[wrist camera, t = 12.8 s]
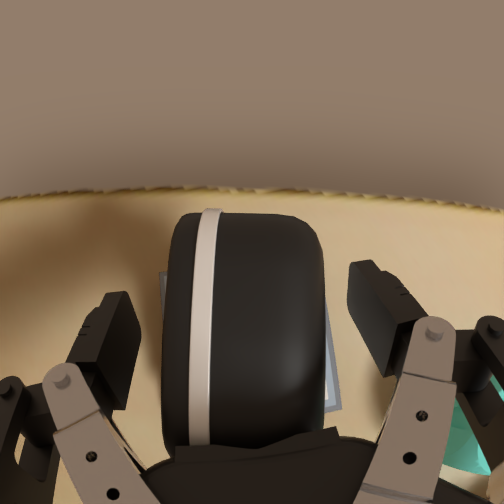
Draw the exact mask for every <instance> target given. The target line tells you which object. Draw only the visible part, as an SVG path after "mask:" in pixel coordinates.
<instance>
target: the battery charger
mask: <svg viewBox="0 0 504 504" xmlns="http://www.w3.org/2000/svg"><path fill="white" fill-rule="evenodd" d="M325 381H326V309H325V278H324V260H323V251H322V248H321V245H320V242H319V240H318V237H317V235H316V232H315V231H314V230H313V229H312V228H311V227H310V226H309V225H308V224H307V223H306V222H304V221H302V220H300V219H298V218H296V217H294V216H286V215H279V214H253V213H224V211H223V209H210V208H207V209H205V210H204V211H203V213H189V214H185V215H184V216H182V217H181V218H180V220H179V222H178V223H177V225H176V227H175V229H174V233H173V236H172V240H171V246H170V253H169V260H168V270H167V281H166V293H165V305H164V319H163V336H162V366H161V419H162V434H163V440H164V445H165V448H166V450H167V452H168V454H169V456H170V458H172V457H175V446H196V445H221V446H229V447H237V448H246V449H260V448H263V447H266V446H268V445H271V444H274V443H276V442H279V441H282V440H284V439H287V438H289V437H292V436H294V435H297V434H301V433H306V432H312V431H317V430H321V429H323V426H324V411H325Z"/></svg>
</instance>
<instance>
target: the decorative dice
mask: <svg viewBox="0 0 504 504" xmlns="http://www.w3.org/2000/svg"><path fill="white" fill-rule="evenodd" d="M490 380H491V382H492V383H493V385H494V387H495V388H496V390H497V391H498V393H499V395H500V396H501V398H502V400H503V401H504V391H503V389H502V388H501V386H500V384H499V383H498V381H497V380H496V378H495V377H494V375H492V377H491V379H490ZM442 464H444V465H447V466H450V467H453V468H456V469H460V470H463V471H467V472H472V473H476V474H482V475H490V474H491V471H490V468H489V466H488V464H487V461H486V459H485V457H484V455H483V452H482V450H481V448H480V446H479V444H478V442H477V440H476V438H475V435H474V433H473V431H472V429H471V427H470V425H469V423H468V421H467V419H466V417H465V415H464V413H463V411H462V409H461V407H460V406H459V404H458V402H457V400H456V398H455V402H454V409H453V415H452V421H451V426H450V431H449V436H448V441H447V445H446V450H445V454H444V458H443V462H442Z"/></svg>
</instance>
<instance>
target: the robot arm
mask: <svg viewBox="0 0 504 504" xmlns="http://www.w3.org/2000/svg"><path fill="white" fill-rule="evenodd" d="M347 306H348V310H349V313H350V315H351V317H352V319H353V321H354V323H355V325H356V327H357V328H358V330H359V332H360V334H361V336H362V338H363V340H364V342H365V343H366V345H367V347H368V349H369V351H370V353H371V355H372V357H373V359H374V361H375V363H376V365H377V367H378V369H379V371H380V373H381V374H382V376H383V378H384V377H388V376H392V375H395V376H396V378H397V382H396V384H395V388H394V391H393V394H392V397H391V400H390V403H389V406H388V409H387V411H386V414H385V417H384V420H383V422H382V425H381V428H380V430H379V433H378V435H377V437H376V440H375V442H372V441H368V440H365V439H361V438H356V437H347V436H339V434H338V431H337V428H336V426H335V427H330V428H326V429H321V430H317V431H312V432H306V433H301V434H297V435H294V436H292V437H289V438H287V439H284V440H282V441H279V442H276V443H274V444H271V445H268V446H266V447H263V448H260V449H246V448H237V447H229V446H221V445H196V446H175V457H172V458H169V459H166V460H163V461H161V462H159V463H157V464H154V465H153V466H151V467H150V468H148V469H147V468H146V467H145V465H144V464H143V463H142V462H141V460H140V459H139V458H138V456H137V455H136V454H135V452H134V451H133V449H132V448H131V446H130V445H129V443H128V442H127V440H126V439H125V437H124V436H123V434H122V433H121V431H120V429H119V428H118V426H117V425H116V423H115V421H114V420H113V419H112V413H113V410H125V409H126V404H127V399H128V394H129V389H130V385H131V380H132V376H133V372H134V367H135V363H136V359H137V355H138V351H139V346H140V342H141V328H140V324H139V321H138V319H137V316H136V313H135V311H134V308H133V305H132V302H131V300H130V297H129V294H128V293H127V292H126V291H120V292H110V293H106V294H105V296H104V298H103V300H102V302H101V304H100V306H99V307H95V308H94V309H93V310H92V311H91V312H90V313H89V314H88V315H87V317H86V319H85V321H84V323H83V325H82V328H81V329H80V331H79V333H78V336H77V338H76V340H75V342H74V344H73V346H72V348H71V351H70V353H69V355H68V358H67V360H66V362H65V363H62V364H59V365H56V366H55V367H53V368H52V369H50V370H49V371H48V372H47V374H46V375H45V377H44V379H43V382H42V383H39V384H35V385H31V386H25V385H24V384H23V382H22V381H21V380H20V378H18V377H16V376H9V377H6V378H4V379H2V380H1V381H0V504H53V496H54V490H55V483H56V477H57V472H58V466H59V461H60V456H61V458H62V460H63V463H64V465H65V467H66V469H67V472H68V474H69V476H70V478H71V480H72V482H73V484H74V486H75V488H76V490H77V492H78V494H79V496H80V498H81V500H82V502H83V504H504V401H503V400H502V398H501V396H500V395H499V393H498V391H497V390H496V388H495V387H494V385H493V383H492V382H491V380H490V379H491V377H492V375H494V377H495V378H496V380H497V381H498V383H499V384H500V386H501V388H502V389H503V391H504V320H502V319H501V318H498V317H495V316H484V317H481V318H480V319H479V320H478V322H477V324H476V327H475V329H474V330H455V329H454V327H453V326H452V325H451V324H450V323H449V322H448V321H446V320H444V319H442V318H439V317H434V316H428V314H427V313H426V312H425V311H424V309H423V308H422V307H421V306H420V304H419V303H418V302H417V301H416V299H415V298H414V297H413V296H412V295H411V294H410V293H409V291H408V290H407V289H406V287H404V285H403V284H402V283H401V282H400V280H399V279H398V278H397V277H396V276H394V275H392V274H391V273H389V272H387V271H381V270H380V269H379V268H378V267H377V265H376V264H375V263H374V262H373V261H372V260H363V261H357V262H351V264H350V266H349V278H348V290H347ZM455 398H456V400H457V402H458V404H459V406H460V407H461V409H462V411H463V413H464V415H465V417H466V419H467V421H468V423H469V425H470V427H471V429H472V431H473V433H474V435H475V438H476V440H477V442H478V444H479V446H480V448H481V450H482V452H483V455H484V457H485V459H486V461H487V464H488V466H489V468H490V471H491V474H490V476H489V480H488V488H487V491H486V496H487V498H488V499H490V501H488V500H486V499H484V498H481V497H479V496H477V495H475V494H472V493H470V492H468V491H466V490H464V489H462V488H460V487H458V486H455V485H453V484H451V483H449V482H447V481H445V480H443V479H441V478H439V474H440V470H441V466H442V462H443V458H444V454H445V450H446V445H447V441H448V436H449V431H450V426H451V421H452V415H453V409H454V402H455ZM20 433H21V434H22V435H23V436H24V437H25V442H24V445H23V449H22V453H21V457H20V461H19V465H18V464H17V462H16V460H15V455H14V452H15V448H16V444H17V441H18V437H19V434H20Z"/></svg>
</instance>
